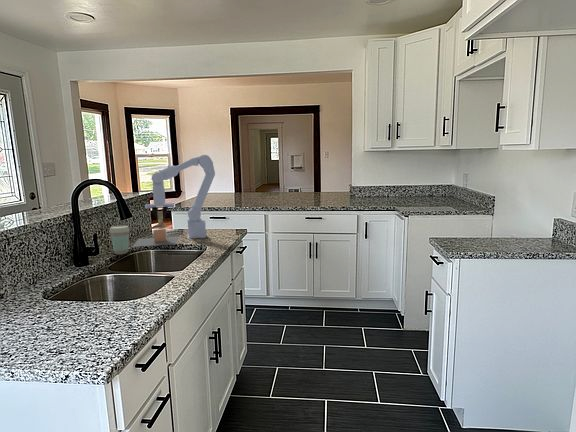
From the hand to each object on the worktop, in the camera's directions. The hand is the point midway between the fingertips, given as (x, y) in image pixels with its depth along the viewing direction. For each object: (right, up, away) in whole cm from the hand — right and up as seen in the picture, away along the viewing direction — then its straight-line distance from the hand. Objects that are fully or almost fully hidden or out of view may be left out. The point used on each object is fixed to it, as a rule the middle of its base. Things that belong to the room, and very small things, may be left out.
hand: (160, 221), depth 200 cm
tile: (+2, -10, -5) cm, 11 cm away
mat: (0, -10, -6) cm, 12 cm away
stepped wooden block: (0, -3, 0) cm, 3 cm away
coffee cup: (-9, -14, -26) cm, 31 cm away
